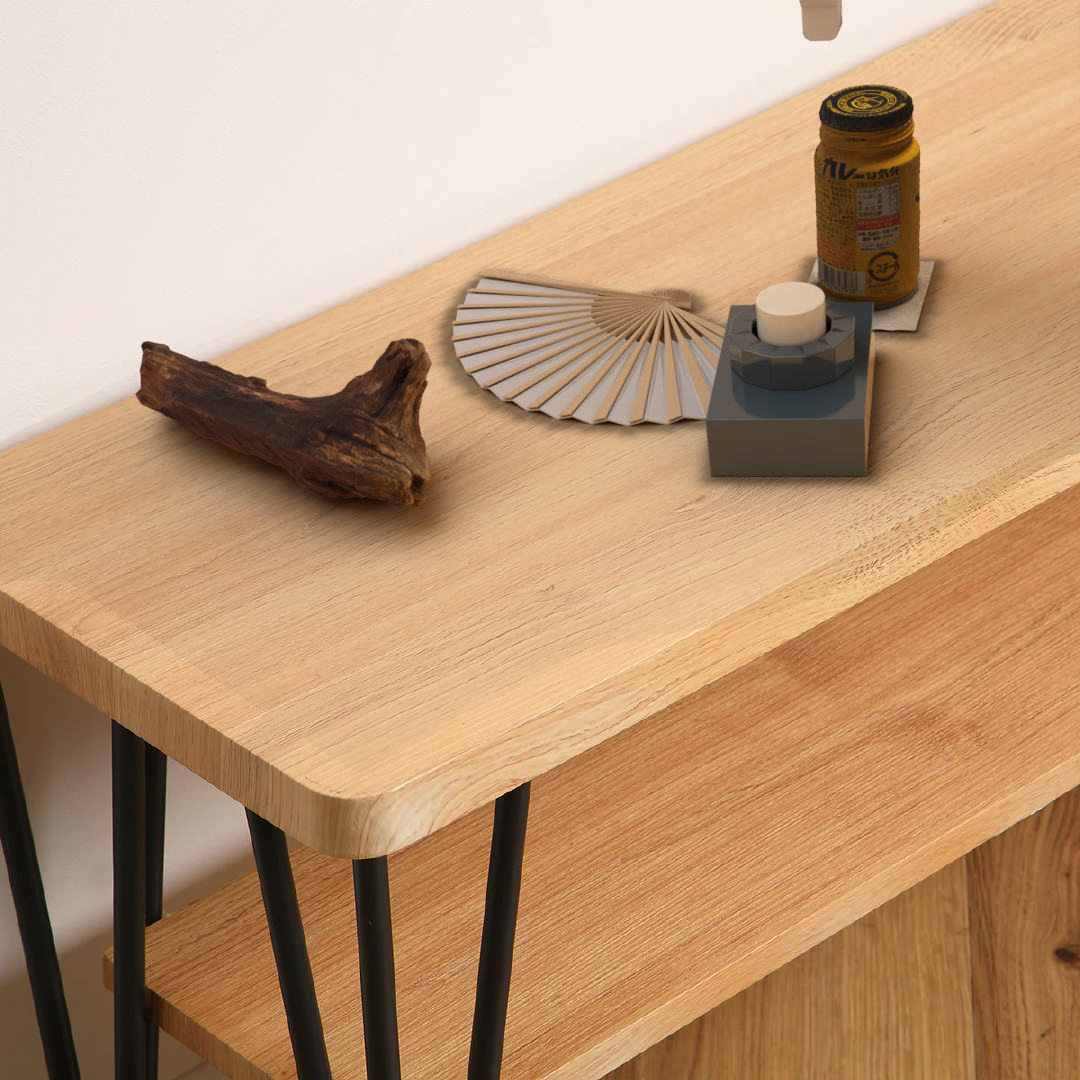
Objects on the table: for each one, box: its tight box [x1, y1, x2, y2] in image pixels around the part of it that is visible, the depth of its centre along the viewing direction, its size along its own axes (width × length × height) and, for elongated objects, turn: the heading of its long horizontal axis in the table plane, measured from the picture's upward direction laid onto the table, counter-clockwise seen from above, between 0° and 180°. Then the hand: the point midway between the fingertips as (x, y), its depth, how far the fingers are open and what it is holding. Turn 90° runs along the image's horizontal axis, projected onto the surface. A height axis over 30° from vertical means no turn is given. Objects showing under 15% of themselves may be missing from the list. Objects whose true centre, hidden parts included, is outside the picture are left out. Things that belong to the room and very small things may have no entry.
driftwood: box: [135, 337, 433, 508], centre depth 89 cm, size 23×8×8 cm, turn 57°
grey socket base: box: [705, 299, 876, 477], centre depth 87 cm, size 8×12×6 cm, turn 168°
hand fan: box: [451, 268, 726, 427], centre depth 97 cm, size 26×1×15 cm
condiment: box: [807, 84, 936, 331], centre depth 95 cm, size 7×8×12 cm
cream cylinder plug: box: [754, 281, 826, 346], centre depth 85 cm, size 4×4×2 cm
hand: (837, 3), depth 86 cm, fingers open, 8 cm apart
